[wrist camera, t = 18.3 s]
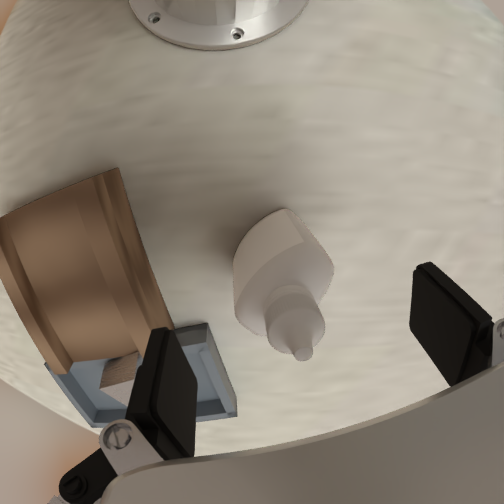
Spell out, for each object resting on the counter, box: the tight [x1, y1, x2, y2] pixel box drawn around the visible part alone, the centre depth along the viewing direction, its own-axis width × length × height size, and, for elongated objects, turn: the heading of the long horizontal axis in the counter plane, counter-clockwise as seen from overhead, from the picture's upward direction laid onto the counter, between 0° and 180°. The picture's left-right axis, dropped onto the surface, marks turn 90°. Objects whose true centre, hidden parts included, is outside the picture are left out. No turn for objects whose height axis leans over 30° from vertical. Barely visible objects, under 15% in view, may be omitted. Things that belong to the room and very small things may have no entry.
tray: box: [44, 323, 237, 428], centre depth 25 cm, size 9×16×2 cm, turn 103°
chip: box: [99, 351, 143, 407], centre depth 22 cm, size 4×4×2 cm
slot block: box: [0, 168, 174, 375], centre depth 20 cm, size 13×10×4 cm
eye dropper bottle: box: [233, 209, 334, 361], centre depth 17 cm, size 4×6×12 cm
